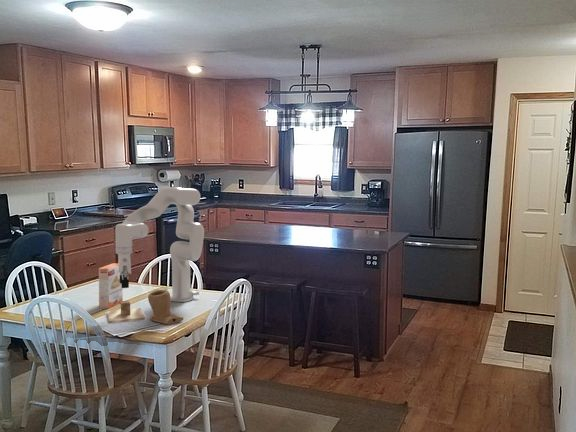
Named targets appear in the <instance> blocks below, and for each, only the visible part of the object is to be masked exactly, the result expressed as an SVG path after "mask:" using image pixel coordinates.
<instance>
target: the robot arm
mask: <svg viewBox="0 0 576 432" xmlns="http://www.w3.org/2000/svg"><path fill="white" fill-rule="evenodd" d="M200 201H201V193H200V191H199V190H198V189H195V188H186V187H185V188H184V187H183V188H182V187H178V186H177V187H176V186H175V187H173V186H164V187H162V188H161V189H159V190H158V192H156V194H155V195H154V196H153V197H152V198H151V199H150V201H149V202H148V203H147V204H146V205H144V206H141V207H140V208H138V209H136V210H134V211H133V212H131V213H130V214H129V215H128V216H127V217H126V218H125V219H124V220H123V221H122V223H118V224H116V225H115V229H114V230H115V234H114V235H115V254H117V256H118V257H117V258H118V260H117V263H118V264H119V272H120V284H121V283H122V289H128V288H130V285H129V283H130V280H129V275H131V274H132V268H131V267H132V265H131V264H132V263H131V260H132V258H131V254H133V239H143V238H145V237H147V235H149V230H150V228H149V226H148V225H147V224H146V223H144V222H145V221H148V220H152V219H157V218H158V217H159V218H160V217H161V215H162V214H163V213H164V212H165V211H166V209H168V207H169V206H170V205H172V204H173V205H175V206H176V208H177V220H176V227H175V235H176V237H178V238H179V239H183V240H178V241H177V240H176V241H174V242H173V243H172V244H171V245H170V247H169V248H170V249H169V254H170V259H171V266H172V267H171V270H172V271H171V273H172V274H171V275H172V276H171V279H172V280H171V281H172V282H171V283H172V284H171V285H172V287H171V289H172V295H170V299H171V302H174V303H186V302H190V301H192V300H193V299H194V296H200V291H199V290H198V291H196V290H191V264H190V262H196V261H198V260H199V259H200V257H201V256H202V252H203V246H204V239H205V228H204V226H203V225H202V224H201V223H200V222H195V221H194V218H195V210H194V207H193V206H195V205H197V204H199V202H200ZM184 240H187V241H184ZM188 241H189V242H188Z"/></svg>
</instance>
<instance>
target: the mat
mask: <svg viewBox="0 0 576 432" xmlns="http://www.w3.org/2000/svg"><path fill="white" fill-rule="evenodd" d="M141 310H142V312H143V314H144V317H145V320H135V321H126V322H125V323H129V322H130V323H131V322H142V321H148V319H147V316H146V314H145V312H144V309H143V308H141ZM104 315H105V321H106V324H107V325H113V324H121V323H123V324H124V322H116V323H109V320H108V315H107V312H104Z"/></svg>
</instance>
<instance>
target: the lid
mask: <svg viewBox="0 0 576 432" xmlns="http://www.w3.org/2000/svg"><path fill="white" fill-rule="evenodd" d="M141 309H142V307H139V308H138V307H137V308H131V302H130V300H123V301H121V303H120V309H118V310H117V309H116V310H115V309H114V310H107V311H106V313H107V315H108V320H109V323H114V324H117V323H116V322H123V323H127V322H126V321H133V322H136V321H135V320H143V321H146V320H145V317H144V314H143V312H142V310H141Z"/></svg>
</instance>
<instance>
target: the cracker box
mask: <svg viewBox="0 0 576 432" xmlns="http://www.w3.org/2000/svg"><path fill="white" fill-rule="evenodd" d="M121 301H124V300H123V288H122V283H121V284H120V272H119V264H118V262H117V263H114V262H113V263H110V264H108V265H104V266H102V267H99V268H98V308H99V309H111V308H113V307H115V306H117V305H119V304H120V305H121Z"/></svg>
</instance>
